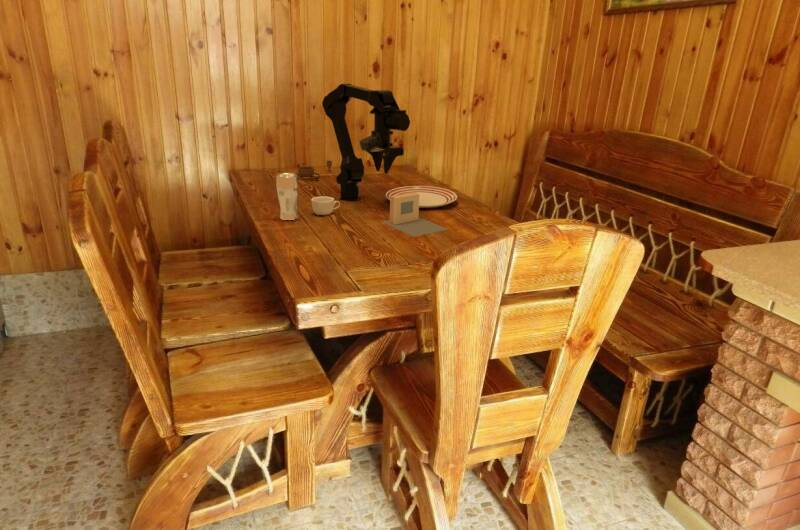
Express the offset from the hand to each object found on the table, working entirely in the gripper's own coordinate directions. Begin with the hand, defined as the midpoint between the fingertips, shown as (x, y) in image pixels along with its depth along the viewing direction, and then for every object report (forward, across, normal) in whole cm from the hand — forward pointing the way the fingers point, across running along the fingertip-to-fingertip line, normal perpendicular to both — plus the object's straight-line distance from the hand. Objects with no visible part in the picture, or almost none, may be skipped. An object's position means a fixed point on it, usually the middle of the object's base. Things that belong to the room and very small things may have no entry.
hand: (382, 172), depth 194 cm
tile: (+13, +19, -4) cm, 23 cm away
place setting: (+14, -57, +3) cm, 59 cm away
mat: (+13, +25, -4) cm, 29 cm away
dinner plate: (+14, +2, +17) cm, 22 cm away
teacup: (+13, -3, -21) cm, 25 cm away
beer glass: (+13, -5, -35) cm, 38 cm away
